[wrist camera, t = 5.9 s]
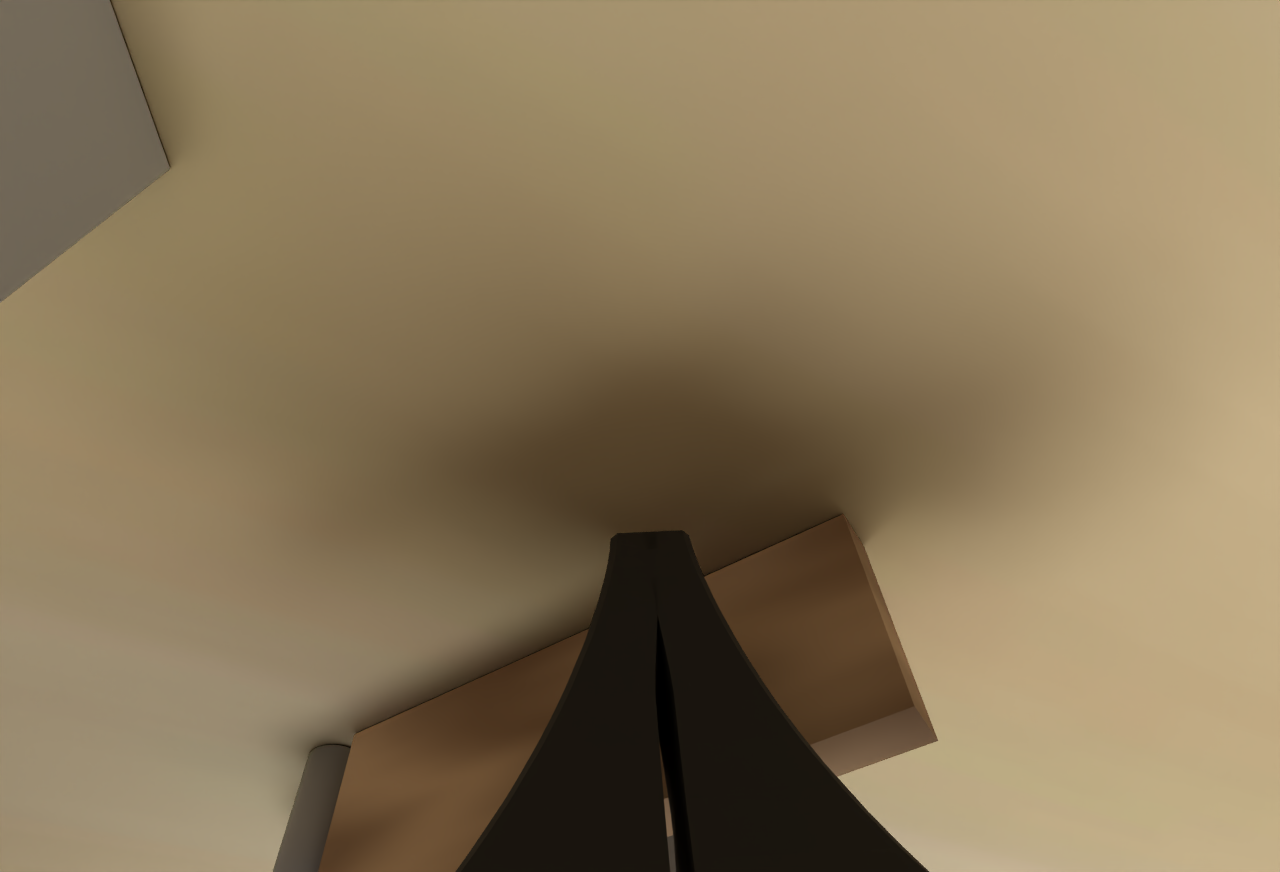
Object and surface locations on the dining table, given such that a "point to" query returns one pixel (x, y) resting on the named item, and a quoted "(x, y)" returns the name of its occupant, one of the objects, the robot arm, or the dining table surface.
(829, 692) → the door
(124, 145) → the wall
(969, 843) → the dining table surface
